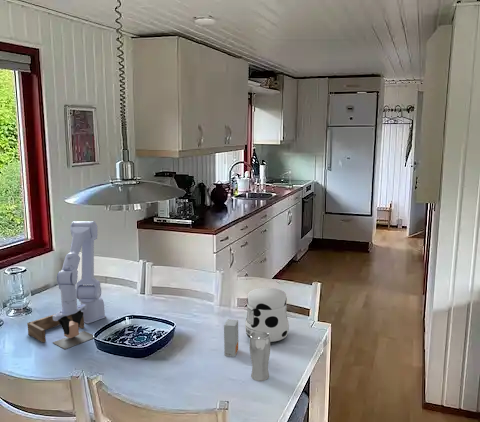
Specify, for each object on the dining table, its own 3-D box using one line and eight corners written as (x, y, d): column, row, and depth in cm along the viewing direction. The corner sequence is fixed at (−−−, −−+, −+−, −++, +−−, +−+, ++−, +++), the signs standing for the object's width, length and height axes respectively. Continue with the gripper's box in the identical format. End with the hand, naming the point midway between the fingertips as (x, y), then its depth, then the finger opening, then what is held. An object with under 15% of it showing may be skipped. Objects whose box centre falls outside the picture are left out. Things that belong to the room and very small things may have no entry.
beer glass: (248, 372, 167) (248, 330, 165) (269, 370, 168) (268, 329, 165) (251, 382, 161) (250, 339, 158) (271, 381, 161) (271, 338, 159)
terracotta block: (72, 332, 198) (71, 320, 198) (79, 334, 196) (78, 322, 195) (64, 336, 195) (63, 324, 194) (70, 338, 193) (69, 326, 192)
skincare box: (235, 357, 178) (235, 326, 176) (224, 356, 179) (223, 325, 177) (238, 349, 184) (238, 319, 182) (227, 348, 185) (227, 318, 183)
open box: (69, 320, 214) (68, 309, 213) (101, 335, 198) (100, 323, 198) (28, 334, 200) (27, 322, 200) (59, 351, 185) (58, 339, 184)
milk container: (294, 332, 199) (294, 290, 196) (279, 350, 183) (279, 304, 180) (255, 325, 206) (255, 284, 203) (238, 342, 191) (237, 298, 187)
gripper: (77, 292, 201) (80, 323, 203) (46, 303, 189) (49, 336, 192) (88, 295, 197) (91, 327, 200) (58, 306, 185) (60, 340, 188)
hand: (71, 331), depth 195 cm, fingers closed on terracotta block, 4 cm apart
